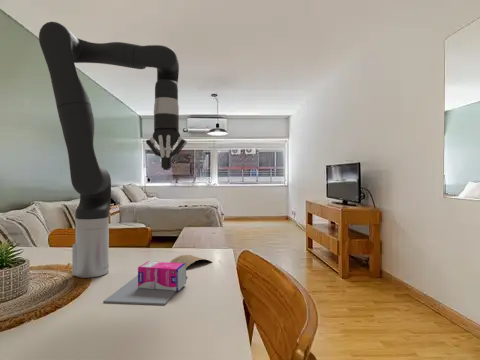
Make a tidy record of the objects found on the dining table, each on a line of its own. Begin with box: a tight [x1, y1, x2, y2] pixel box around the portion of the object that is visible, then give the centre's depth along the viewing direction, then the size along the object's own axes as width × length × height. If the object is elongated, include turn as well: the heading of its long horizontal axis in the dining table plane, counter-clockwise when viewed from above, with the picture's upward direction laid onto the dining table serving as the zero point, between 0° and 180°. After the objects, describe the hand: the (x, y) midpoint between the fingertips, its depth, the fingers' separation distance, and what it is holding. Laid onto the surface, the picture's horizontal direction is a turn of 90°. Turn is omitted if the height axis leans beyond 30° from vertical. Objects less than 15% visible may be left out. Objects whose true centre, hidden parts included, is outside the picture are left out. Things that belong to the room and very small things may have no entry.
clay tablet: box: [169, 254, 212, 269], centre depth 108 cm, size 14×10×3 cm
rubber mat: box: [102, 274, 188, 306], centre depth 83 cm, size 15×20×1 cm
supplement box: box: [137, 260, 187, 292], centre depth 84 cm, size 6×6×12 cm
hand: (166, 169), depth 98 cm, fingers closed
